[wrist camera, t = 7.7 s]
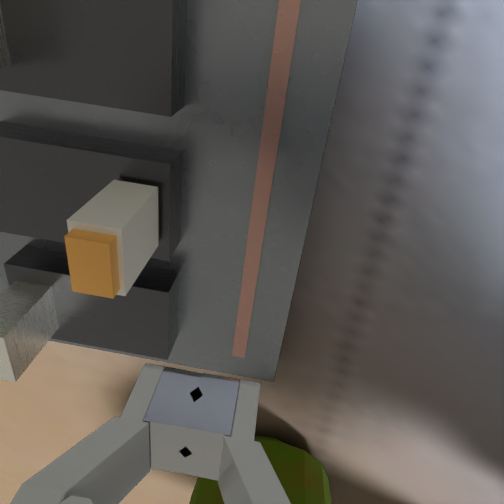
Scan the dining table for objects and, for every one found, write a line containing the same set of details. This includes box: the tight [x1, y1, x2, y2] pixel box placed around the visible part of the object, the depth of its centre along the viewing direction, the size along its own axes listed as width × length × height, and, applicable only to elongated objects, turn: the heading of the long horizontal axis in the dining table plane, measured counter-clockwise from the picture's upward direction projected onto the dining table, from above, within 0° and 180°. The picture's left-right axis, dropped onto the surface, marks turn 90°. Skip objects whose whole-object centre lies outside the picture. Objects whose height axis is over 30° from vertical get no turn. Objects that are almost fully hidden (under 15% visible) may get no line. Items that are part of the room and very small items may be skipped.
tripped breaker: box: [64, 180, 158, 299], centre depth 16 cm, size 2×3×5 cm, turn 173°
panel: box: [0, 0, 357, 382], centre depth 19 cm, size 22×24×8 cm
